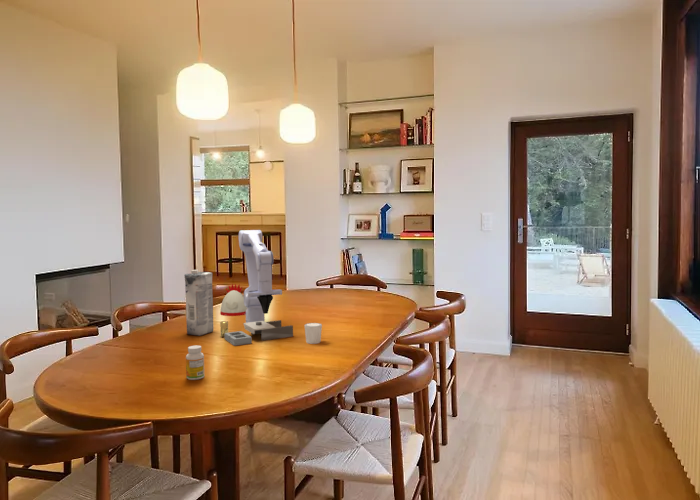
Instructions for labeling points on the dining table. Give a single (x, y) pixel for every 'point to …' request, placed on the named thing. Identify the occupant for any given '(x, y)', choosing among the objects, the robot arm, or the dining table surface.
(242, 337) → the socket board
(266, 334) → the housing
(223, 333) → the pin
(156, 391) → the dining table surface
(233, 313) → the kitchen timer
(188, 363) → the supplement bottle
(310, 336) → the white cup
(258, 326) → the lid
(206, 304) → the juice carton
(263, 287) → the robot arm
